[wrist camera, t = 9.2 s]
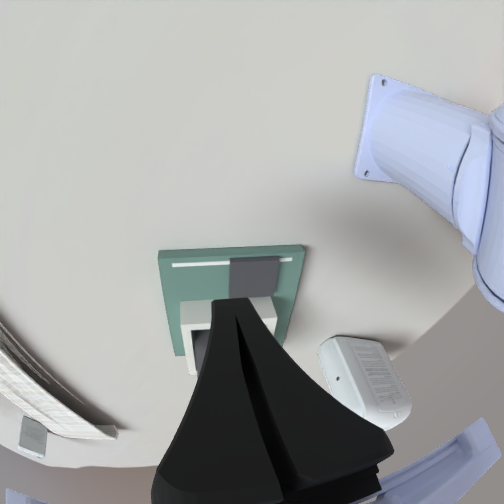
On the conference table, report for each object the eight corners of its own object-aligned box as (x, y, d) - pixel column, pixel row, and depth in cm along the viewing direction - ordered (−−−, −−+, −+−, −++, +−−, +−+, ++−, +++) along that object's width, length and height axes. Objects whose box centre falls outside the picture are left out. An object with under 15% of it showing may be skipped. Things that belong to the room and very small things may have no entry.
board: (301, 244, 23) (316, 272, 20) (280, 339, 30) (288, 366, 27) (158, 250, 21) (155, 281, 18) (175, 348, 27) (175, 377, 25)
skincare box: (22, 414, 35) (18, 445, 29) (48, 425, 38) (45, 456, 32) (21, 421, 37) (17, 449, 31) (45, 431, 40) (42, 459, 34)
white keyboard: (-65, 270, 12) (119, 444, 37) (-47, 246, 16) (119, 425, 40) (-95, 290, 12) (67, 441, 36) (-82, 270, 15) (69, 424, 39)
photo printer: (310, 354, 33) (344, 444, 23) (331, 331, 31) (374, 426, 21) (363, 358, 37) (398, 430, 27) (383, 339, 35) (423, 412, 25)
